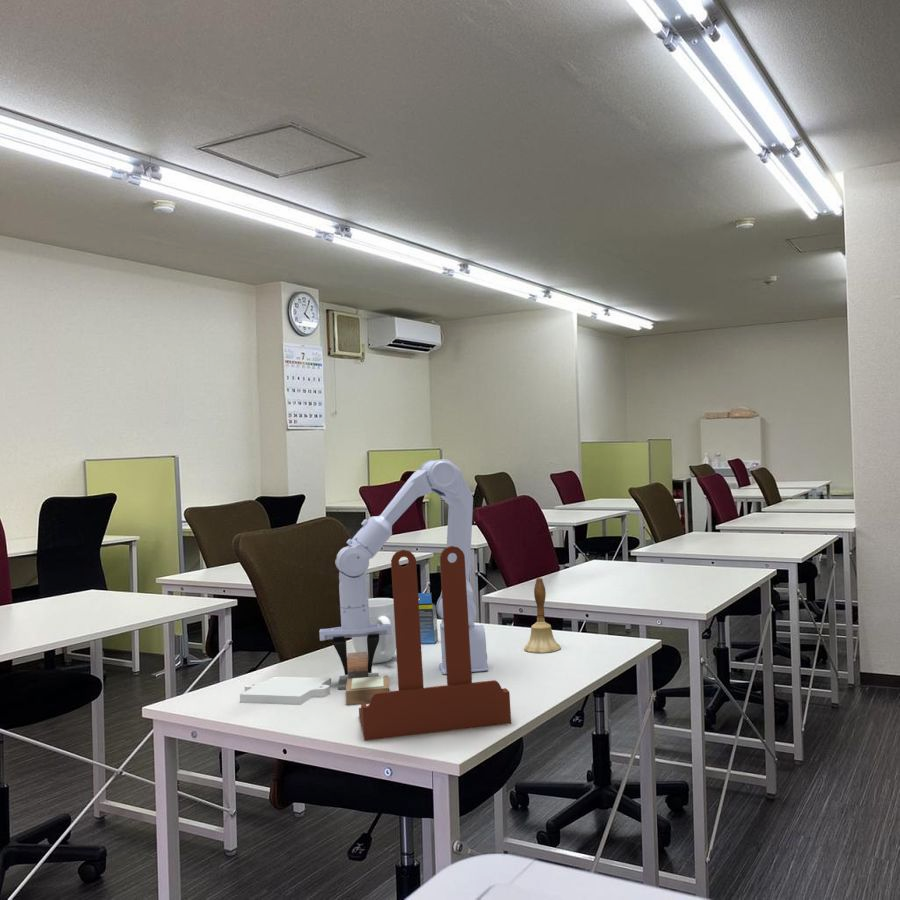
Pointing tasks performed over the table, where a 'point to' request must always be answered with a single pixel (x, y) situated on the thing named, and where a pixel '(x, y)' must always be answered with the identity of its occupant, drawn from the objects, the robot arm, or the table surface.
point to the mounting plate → (286, 690)
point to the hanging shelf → (413, 702)
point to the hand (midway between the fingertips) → (358, 672)
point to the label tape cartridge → (427, 619)
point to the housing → (357, 665)
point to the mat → (343, 679)
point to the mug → (379, 614)
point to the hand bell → (541, 626)
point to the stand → (365, 688)
